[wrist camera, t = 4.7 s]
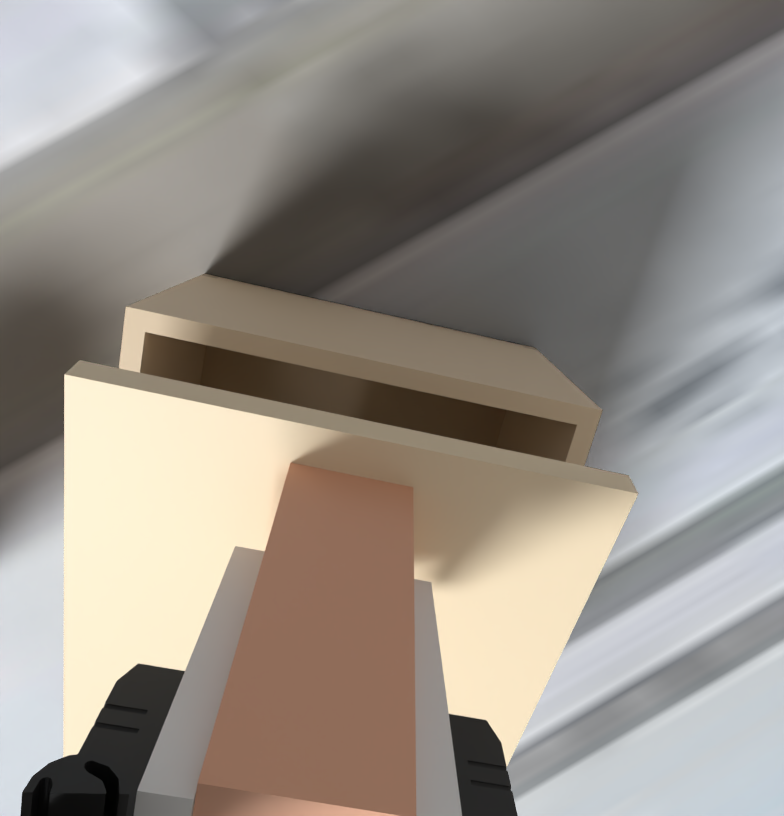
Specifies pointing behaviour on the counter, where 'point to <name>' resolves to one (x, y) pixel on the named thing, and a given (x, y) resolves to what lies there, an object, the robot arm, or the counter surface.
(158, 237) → the counter surface
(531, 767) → the counter surface
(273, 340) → the carton
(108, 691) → the lid flap
